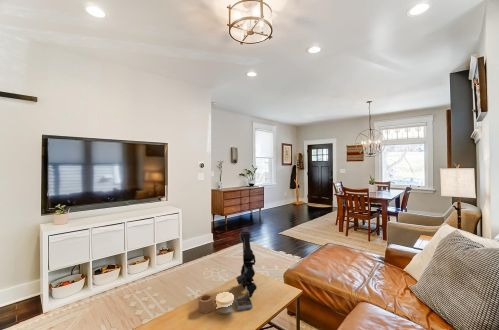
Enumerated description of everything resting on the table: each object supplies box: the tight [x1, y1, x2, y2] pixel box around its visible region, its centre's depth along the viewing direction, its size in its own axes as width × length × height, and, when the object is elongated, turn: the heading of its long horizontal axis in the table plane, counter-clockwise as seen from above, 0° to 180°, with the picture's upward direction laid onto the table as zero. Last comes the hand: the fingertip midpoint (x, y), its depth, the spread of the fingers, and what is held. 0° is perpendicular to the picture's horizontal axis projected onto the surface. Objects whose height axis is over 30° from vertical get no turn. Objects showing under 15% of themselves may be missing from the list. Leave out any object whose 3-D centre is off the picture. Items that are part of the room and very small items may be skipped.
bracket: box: [198, 293, 217, 314], centre depth 147 cm, size 18×8×7 cm, turn 117°
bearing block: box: [234, 296, 253, 312], centre depth 148 cm, size 9×9×2 cm
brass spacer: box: [244, 287, 250, 298], centre depth 159 cm, size 5×5×6 cm
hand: (248, 293), depth 159 cm, fingers open, 9 cm apart
